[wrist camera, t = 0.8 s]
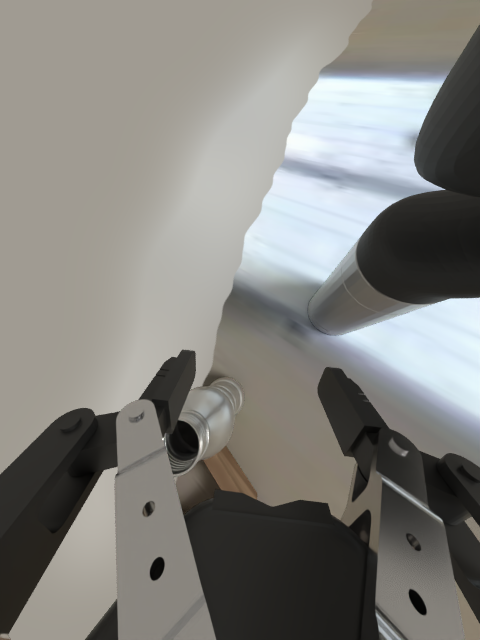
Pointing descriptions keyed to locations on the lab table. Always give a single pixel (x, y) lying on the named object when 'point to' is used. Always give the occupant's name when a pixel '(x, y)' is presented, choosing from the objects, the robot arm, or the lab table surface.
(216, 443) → the plastic bottle
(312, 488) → the lab table surface
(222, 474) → the wooden square frame
